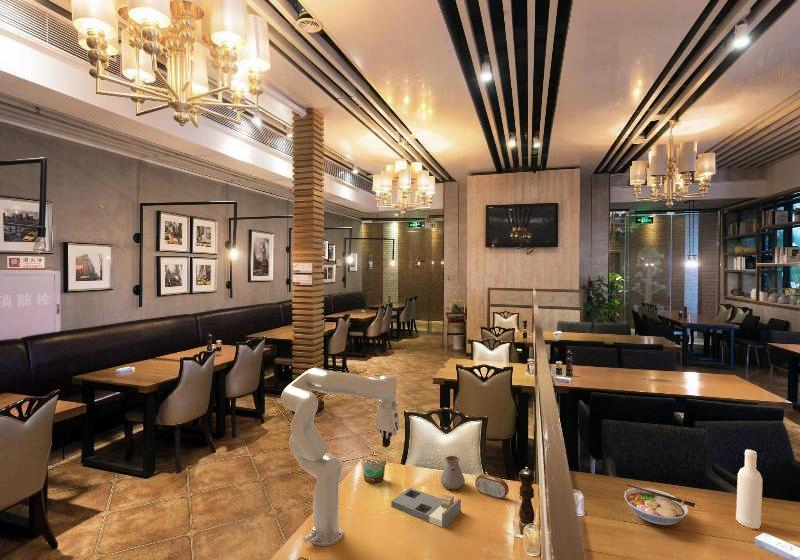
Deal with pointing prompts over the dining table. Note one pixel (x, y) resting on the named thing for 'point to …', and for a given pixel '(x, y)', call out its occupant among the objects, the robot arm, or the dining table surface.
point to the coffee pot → (452, 474)
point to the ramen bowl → (656, 505)
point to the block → (447, 500)
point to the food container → (373, 470)
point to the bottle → (749, 492)
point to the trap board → (426, 507)
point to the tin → (492, 486)
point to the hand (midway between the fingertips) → (386, 446)
